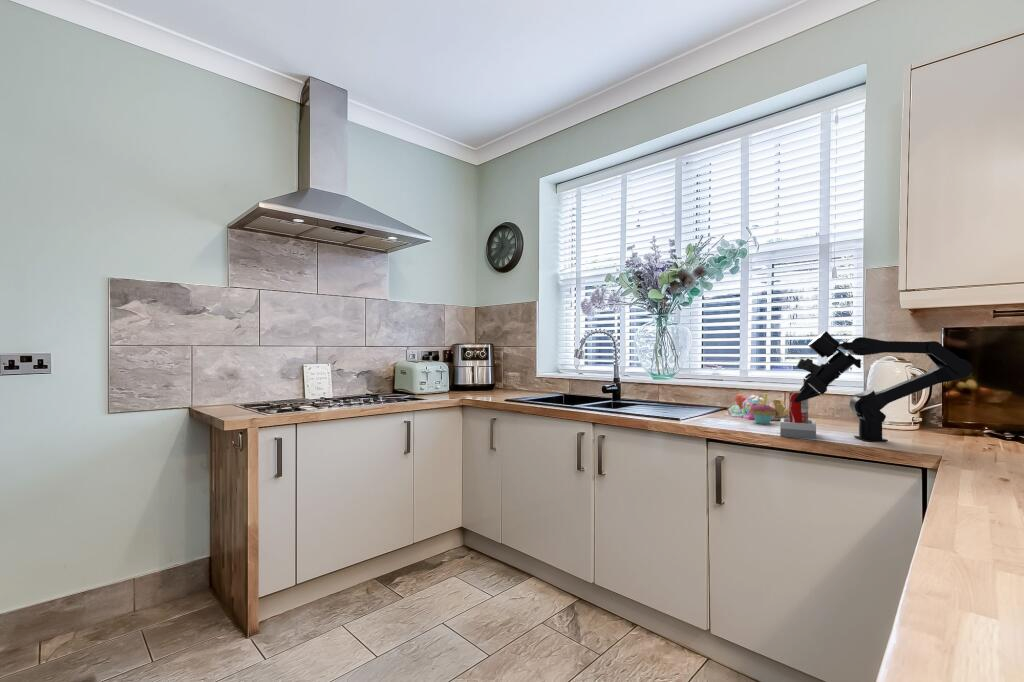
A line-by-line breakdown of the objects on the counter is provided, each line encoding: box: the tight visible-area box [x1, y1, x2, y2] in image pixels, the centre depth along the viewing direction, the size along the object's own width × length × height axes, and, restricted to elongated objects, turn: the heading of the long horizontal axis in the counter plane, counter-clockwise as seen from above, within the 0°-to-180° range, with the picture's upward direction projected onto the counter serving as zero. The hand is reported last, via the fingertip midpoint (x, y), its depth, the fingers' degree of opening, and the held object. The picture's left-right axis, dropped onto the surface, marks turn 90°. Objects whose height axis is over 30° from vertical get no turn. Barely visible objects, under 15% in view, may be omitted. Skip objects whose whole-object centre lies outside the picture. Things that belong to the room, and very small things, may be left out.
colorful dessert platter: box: [724, 393, 789, 421], centre depth 207 cm, size 25×24×9 cm
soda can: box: [788, 389, 809, 424], centre depth 164 cm, size 6×6×12 cm
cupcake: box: [750, 391, 775, 425], centre depth 189 cm, size 9×8×12 cm
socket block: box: [779, 418, 817, 440], centre depth 164 cm, size 10×10×4 cm
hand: (794, 400), depth 165 cm, fingers open, 9 cm apart
